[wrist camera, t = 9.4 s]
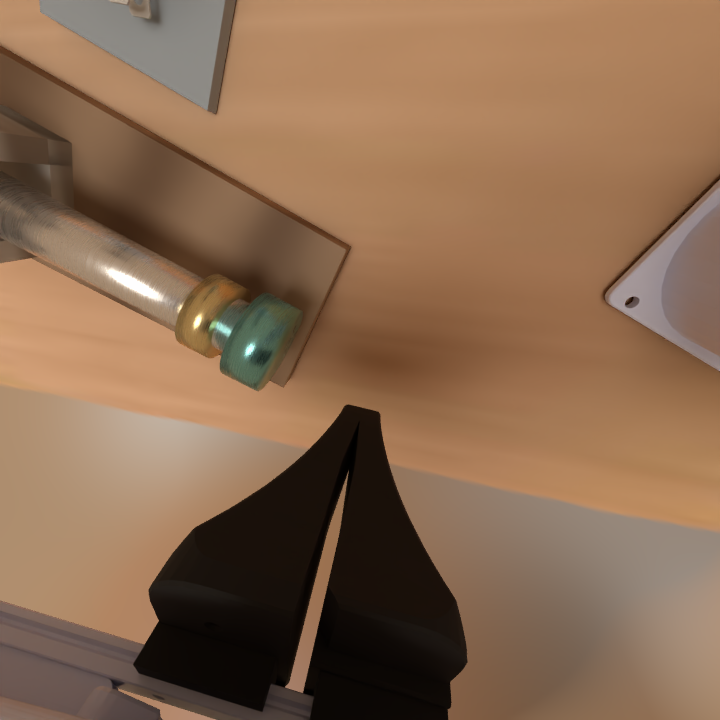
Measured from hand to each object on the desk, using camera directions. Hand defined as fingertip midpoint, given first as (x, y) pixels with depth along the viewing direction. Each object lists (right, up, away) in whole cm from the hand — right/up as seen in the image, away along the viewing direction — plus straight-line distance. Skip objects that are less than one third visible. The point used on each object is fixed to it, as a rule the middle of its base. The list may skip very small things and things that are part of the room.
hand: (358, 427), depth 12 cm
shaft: (-9, +7, +2) cm, 12 cm away
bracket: (-11, +9, +4) cm, 15 cm away
